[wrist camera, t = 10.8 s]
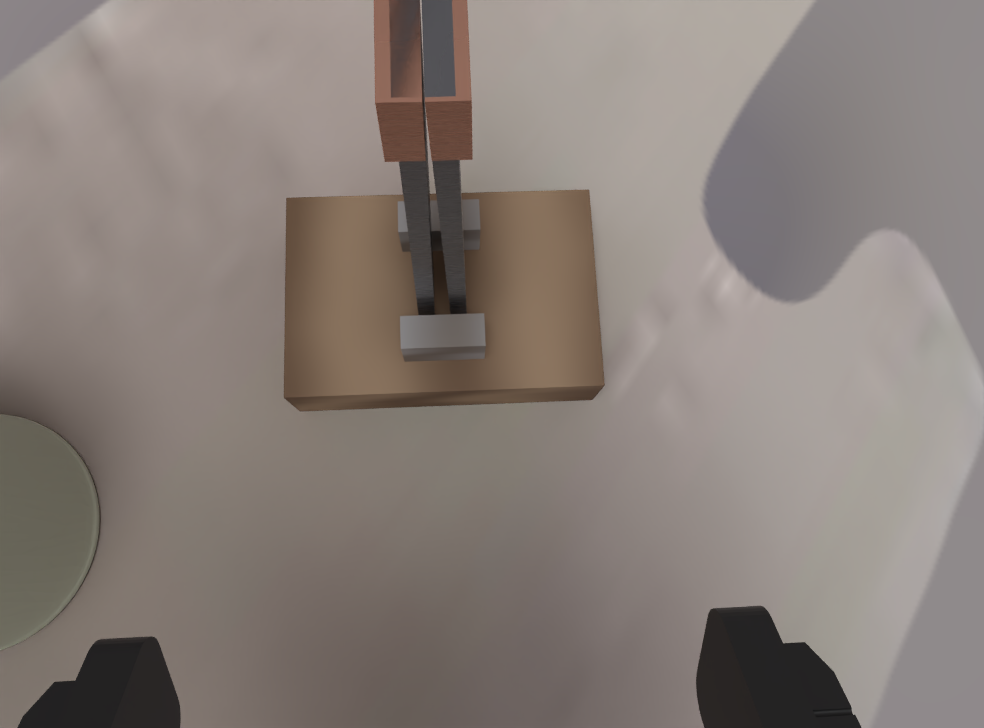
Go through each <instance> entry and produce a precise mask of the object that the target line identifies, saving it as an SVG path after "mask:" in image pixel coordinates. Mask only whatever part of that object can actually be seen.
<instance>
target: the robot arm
mask: <svg viewBox="0 0 984 728" xmlns="http://www.w3.org/2000/svg"><path fill="white" fill-rule="evenodd" d="M696 687H697V698H698V704H699V710H700V714H701V718H702V721H703V724H704V727H705V728H861V726H860V724H859V722H858V720H857V718H856V716H855V715H853V714H852V710H851V709H852V708H851V705H850V703H849V701H848V699H847V697H846V695H845V693H844V691H843V689H842V687H841V685H840V683H839V681H838V679H837V677H836V675H835V673H834V672H833V671H832V670H831V669H830V668H829V667H828V666H827V664H826V663H825V662H824V661H823V660H822V659H821V658H820V657H819V656H818V655H817V654H816V653H815V652H814V651H813V650H812V649H811V648H810V647H809V646H808V645H807V644H806V643H805V642H801V643H784V644H783V642H782V640H781V638H780V636H779V633H778V631H777V629H776V627H775V625H774V622H773V620H772V618H771V616H770V614H769V612H768V611H767V610H766V609H765V608H764V607H763V606H750V607H732V608H713V609H711V610H710V612H709V614H708V618H707V624H706V629H705V634H704V639H703V644H702V649H701V654H700V659H699V664H698V669H697V677H696ZM18 728H180V705H179V700H178V697H177V694H176V691H175V688H174V685H173V682H172V679H171V677H170V674H169V671H168V668H167V665H166V662H165V659H164V657H163V654H162V651H161V648H160V645H159V643H158V641H157V639H156V638H155V637H133V638H115V639H100V640H98V641H96V642H95V643H94V644H93V645H92V647H91V648H90V650H89V652H88V654H87V656H86V658H85V660H84V663H83V665H82V667H81V669H80V672H79V674H78V676H77V678H76V681H63V682H54V683H53V684H52V685H51V687H50V688H49V689H48V690H47V691H46V692H45V693H44V694H43V695H42V696H41V697H40V699H39V700H38V701H37V702H36V703H35V704H34V705H33V706H32V707H31V708H30V709H29V711H28V712H27V713H26V714H25V715H24V716H23V717H22V720H21V722H20V724H19V726H18Z"/></svg>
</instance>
